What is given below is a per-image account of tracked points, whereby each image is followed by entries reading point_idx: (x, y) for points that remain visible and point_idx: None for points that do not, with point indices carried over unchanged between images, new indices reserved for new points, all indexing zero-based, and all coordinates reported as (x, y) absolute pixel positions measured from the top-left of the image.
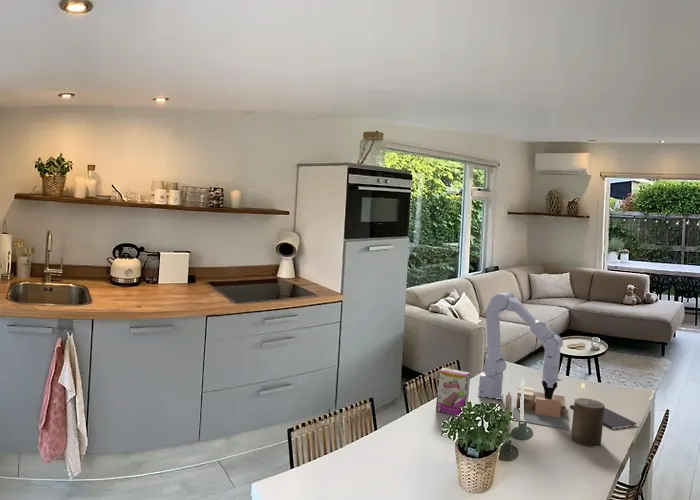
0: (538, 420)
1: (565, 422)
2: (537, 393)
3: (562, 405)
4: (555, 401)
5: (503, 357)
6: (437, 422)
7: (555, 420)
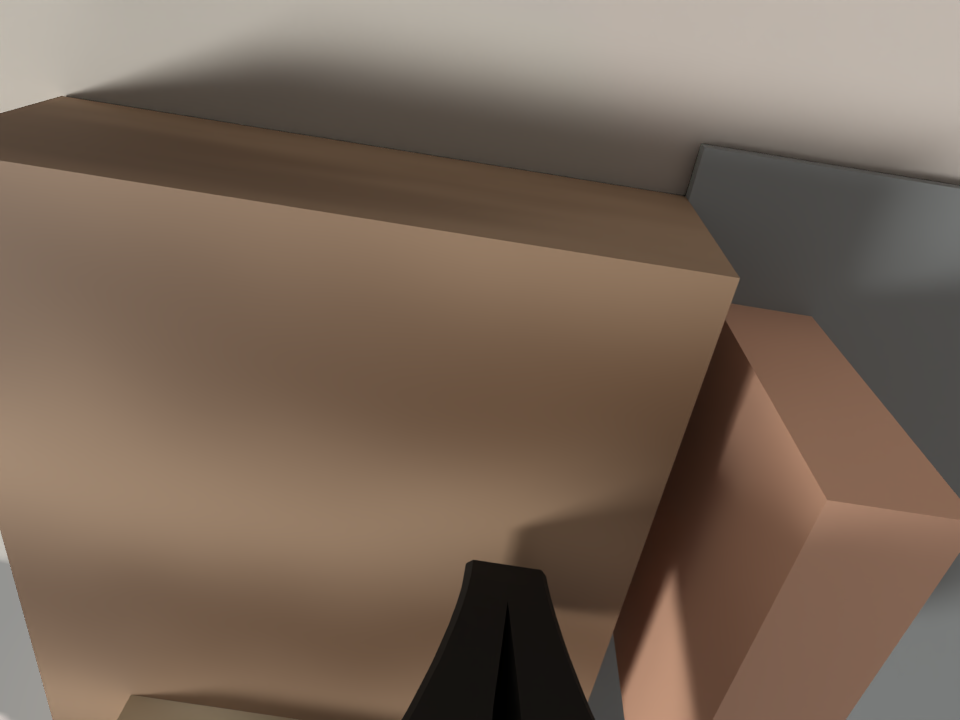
0: (945, 619)
1: None
2: (109, 646)
3: (668, 341)
4: (875, 624)
5: None
6: None
7: (940, 409)
